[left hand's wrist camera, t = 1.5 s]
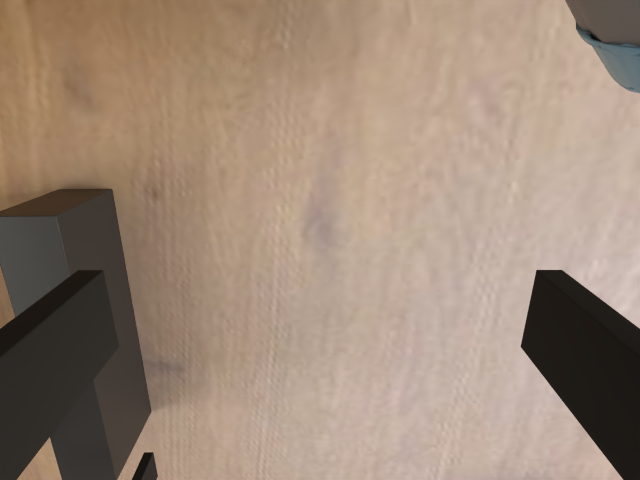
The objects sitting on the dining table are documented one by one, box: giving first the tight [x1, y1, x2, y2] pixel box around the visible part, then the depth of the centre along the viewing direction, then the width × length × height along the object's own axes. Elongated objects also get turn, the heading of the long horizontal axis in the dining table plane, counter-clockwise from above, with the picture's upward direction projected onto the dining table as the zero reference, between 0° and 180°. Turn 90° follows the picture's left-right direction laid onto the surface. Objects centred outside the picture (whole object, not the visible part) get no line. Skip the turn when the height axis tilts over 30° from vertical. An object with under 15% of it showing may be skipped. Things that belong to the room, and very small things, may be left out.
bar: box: [0, 189, 151, 480], centre depth 37 cm, size 26×5×9 cm, turn 0°
